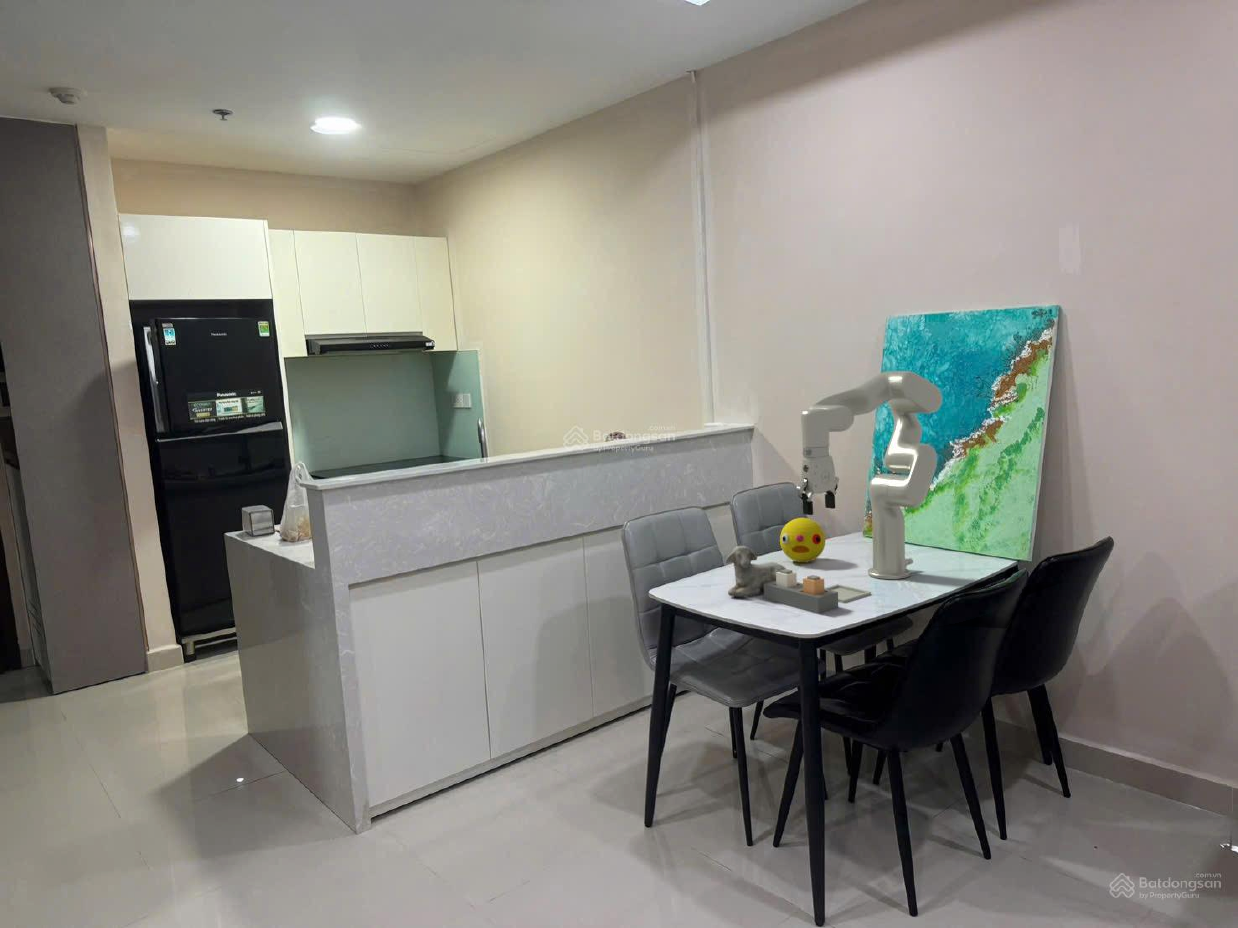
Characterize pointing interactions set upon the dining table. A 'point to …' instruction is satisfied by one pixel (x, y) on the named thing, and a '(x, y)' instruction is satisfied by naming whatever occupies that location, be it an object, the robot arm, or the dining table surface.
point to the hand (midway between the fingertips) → (819, 511)
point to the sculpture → (750, 573)
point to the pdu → (798, 594)
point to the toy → (802, 540)
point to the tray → (848, 593)
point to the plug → (813, 585)
